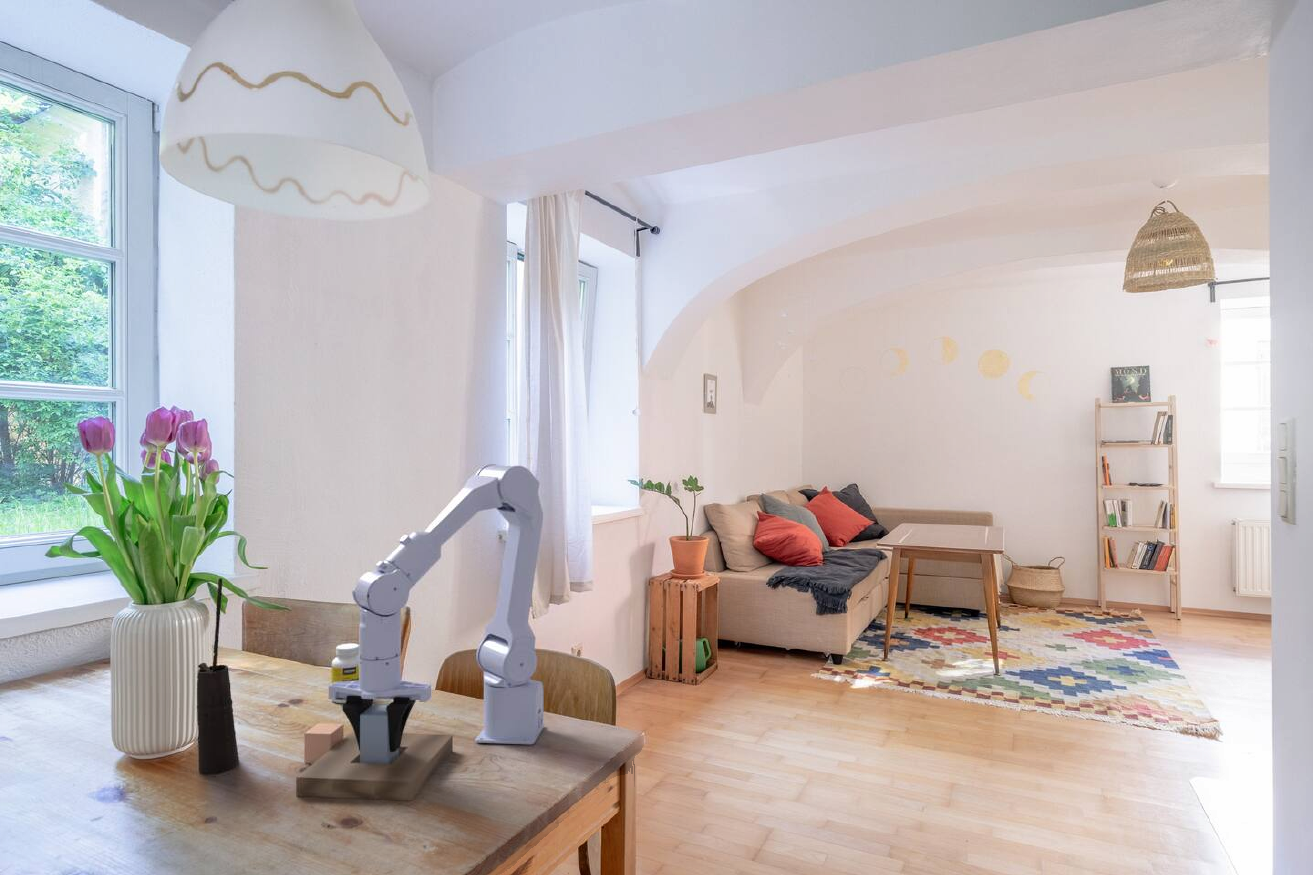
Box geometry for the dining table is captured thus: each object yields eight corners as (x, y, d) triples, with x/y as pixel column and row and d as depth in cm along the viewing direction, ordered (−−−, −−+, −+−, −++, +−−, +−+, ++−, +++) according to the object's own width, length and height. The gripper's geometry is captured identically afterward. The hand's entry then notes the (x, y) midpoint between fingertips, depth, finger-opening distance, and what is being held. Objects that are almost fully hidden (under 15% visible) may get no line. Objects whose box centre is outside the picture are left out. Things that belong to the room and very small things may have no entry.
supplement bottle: (341, 706, 136) (341, 651, 136) (325, 699, 139) (325, 646, 139) (368, 697, 140) (368, 645, 140) (352, 691, 144) (352, 640, 144)
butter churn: (166, 765, 111) (167, 575, 111) (237, 746, 118) (238, 567, 118) (184, 785, 105) (185, 584, 105) (258, 764, 112) (258, 575, 112)
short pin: (343, 753, 116) (343, 723, 116) (330, 764, 112) (330, 733, 112) (318, 752, 116) (318, 723, 116) (304, 763, 112) (304, 733, 112)
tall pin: (398, 759, 111) (399, 705, 111) (387, 771, 107) (387, 715, 107) (372, 758, 112) (372, 704, 112) (359, 770, 108) (360, 714, 108)
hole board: (452, 750, 117) (452, 734, 117) (411, 800, 101) (411, 781, 101) (352, 747, 118) (352, 731, 118) (296, 795, 102) (296, 777, 102)
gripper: (317, 661, 106) (317, 758, 106) (417, 664, 105) (417, 761, 105) (342, 647, 113) (341, 738, 113) (436, 650, 112) (436, 741, 112)
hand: (379, 748), depth 109 cm, fingers closed on tall pin, 4 cm apart
